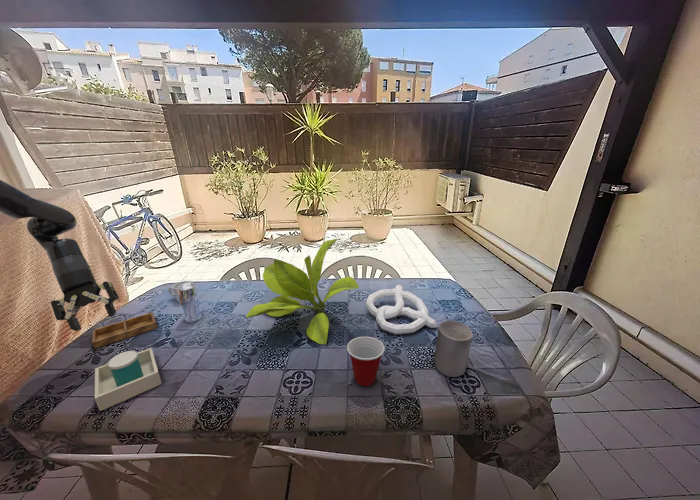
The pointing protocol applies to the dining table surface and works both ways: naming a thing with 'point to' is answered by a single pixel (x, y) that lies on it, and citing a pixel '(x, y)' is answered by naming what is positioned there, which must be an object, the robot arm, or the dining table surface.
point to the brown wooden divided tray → (123, 330)
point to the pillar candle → (452, 348)
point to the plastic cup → (365, 358)
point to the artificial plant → (301, 291)
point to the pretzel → (399, 311)
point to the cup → (176, 289)
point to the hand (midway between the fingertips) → (95, 322)
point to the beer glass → (189, 301)
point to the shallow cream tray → (112, 394)
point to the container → (125, 367)
